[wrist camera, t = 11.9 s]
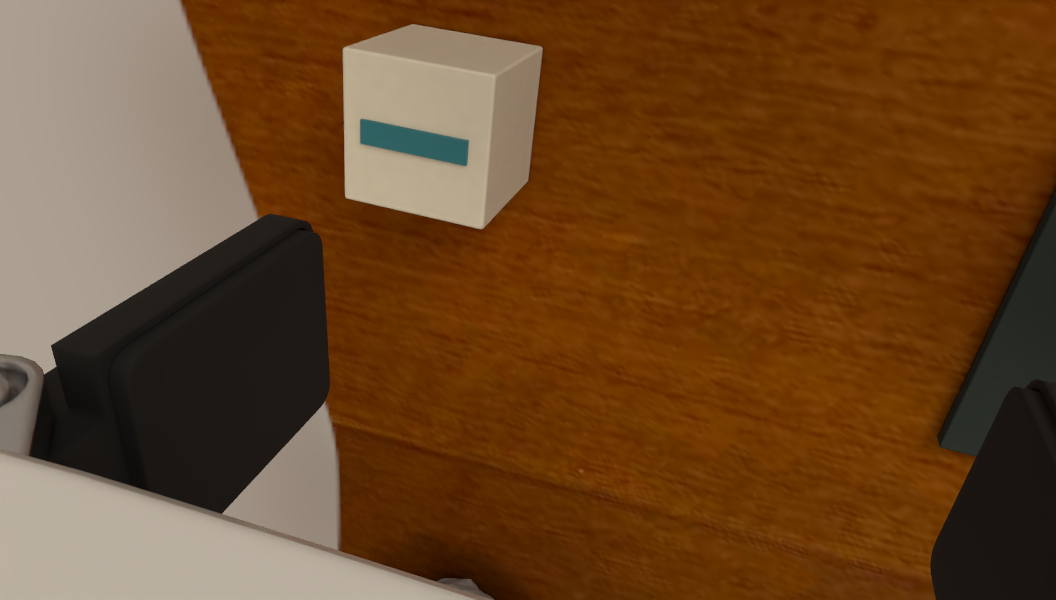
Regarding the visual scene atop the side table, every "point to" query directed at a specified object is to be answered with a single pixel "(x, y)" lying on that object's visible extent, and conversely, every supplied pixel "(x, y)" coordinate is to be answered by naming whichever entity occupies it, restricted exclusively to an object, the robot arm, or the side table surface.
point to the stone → (464, 586)
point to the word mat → (1011, 344)
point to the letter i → (439, 122)
